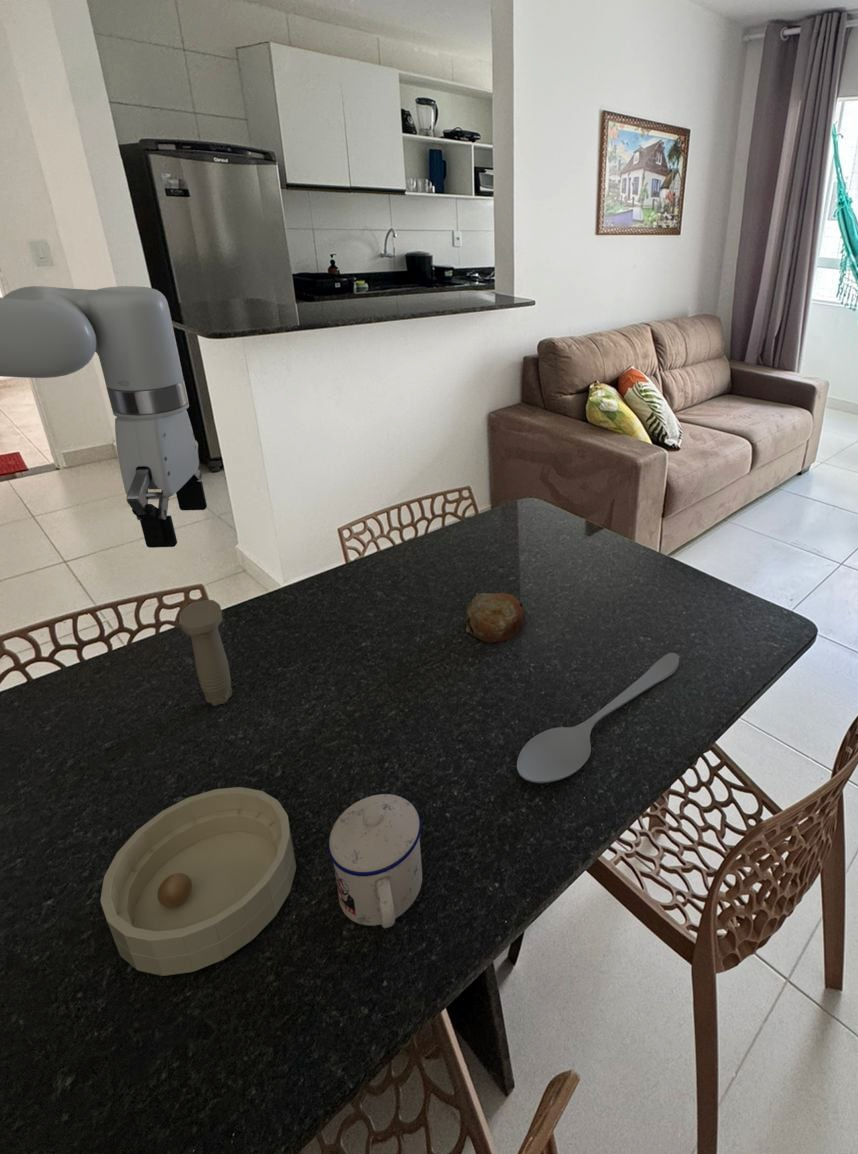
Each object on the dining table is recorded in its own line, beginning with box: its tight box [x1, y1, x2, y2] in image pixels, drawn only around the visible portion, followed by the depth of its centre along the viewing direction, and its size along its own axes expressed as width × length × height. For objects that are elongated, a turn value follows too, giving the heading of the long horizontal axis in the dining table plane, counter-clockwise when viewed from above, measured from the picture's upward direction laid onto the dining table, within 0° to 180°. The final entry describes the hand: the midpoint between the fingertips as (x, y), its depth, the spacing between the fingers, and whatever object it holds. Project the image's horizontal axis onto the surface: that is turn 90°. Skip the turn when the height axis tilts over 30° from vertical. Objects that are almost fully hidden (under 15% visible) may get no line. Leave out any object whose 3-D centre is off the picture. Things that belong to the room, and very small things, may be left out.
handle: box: [178, 599, 233, 707], centre depth 92 cm, size 5×6×15 cm
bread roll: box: [465, 591, 526, 644], centre depth 114 cm, size 10×10×8 cm
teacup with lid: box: [327, 793, 423, 929], centre depth 68 cm, size 12×9×12 cm
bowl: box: [99, 786, 297, 977], centre depth 69 cm, size 17×17×6 cm
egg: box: [157, 873, 192, 907], centre depth 68 cm, size 3×3×3 cm
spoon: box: [516, 652, 680, 784], centre depth 96 cm, size 35×8×3 cm, turn 140°
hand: (178, 526), depth 84 cm, fingers open, 9 cm apart
